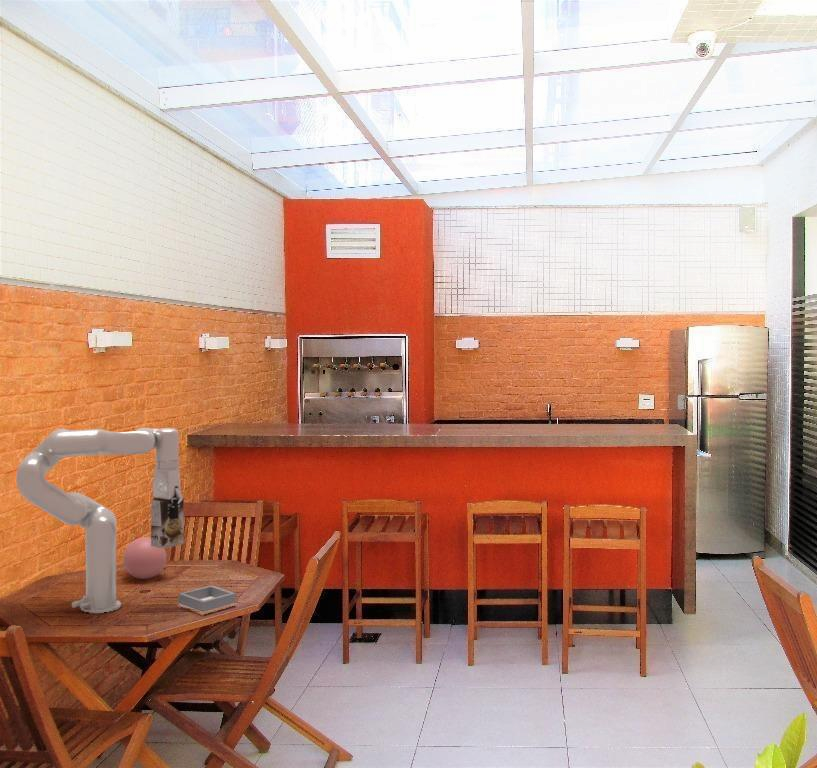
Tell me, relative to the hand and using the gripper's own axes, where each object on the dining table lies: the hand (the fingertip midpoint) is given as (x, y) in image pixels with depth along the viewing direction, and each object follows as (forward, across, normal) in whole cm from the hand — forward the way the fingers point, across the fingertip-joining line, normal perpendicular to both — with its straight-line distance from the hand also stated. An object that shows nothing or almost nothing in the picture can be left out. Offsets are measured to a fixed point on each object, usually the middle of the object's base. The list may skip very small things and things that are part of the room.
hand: (167, 516), depth 290 cm
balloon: (+30, -33, +12) cm, 46 cm away
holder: (+30, +13, +7) cm, 33 cm away
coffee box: (+10, 0, 0) cm, 10 cm away
